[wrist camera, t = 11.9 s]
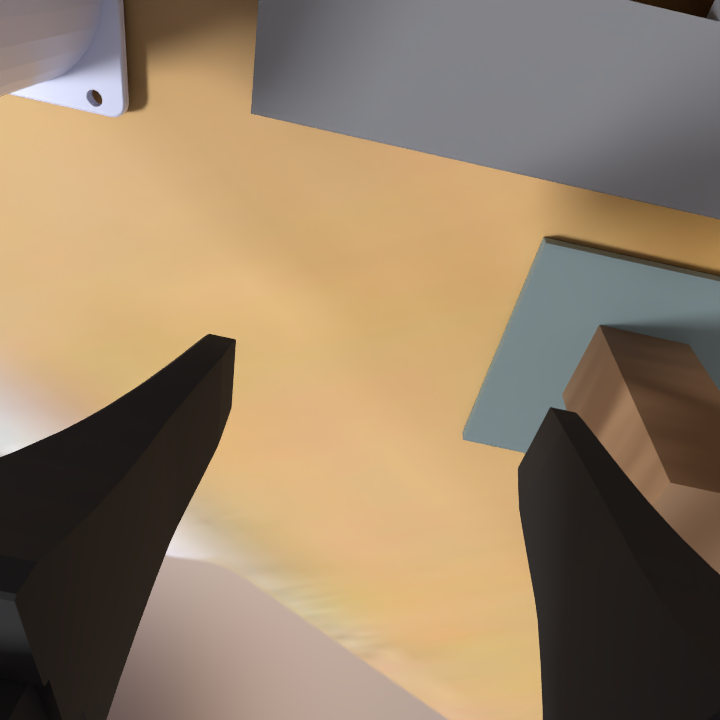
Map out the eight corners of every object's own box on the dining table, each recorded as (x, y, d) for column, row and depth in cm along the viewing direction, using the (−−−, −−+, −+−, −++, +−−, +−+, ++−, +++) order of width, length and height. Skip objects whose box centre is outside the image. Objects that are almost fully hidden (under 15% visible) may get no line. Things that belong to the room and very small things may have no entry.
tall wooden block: (562, 394, 24) (610, 558, 17) (599, 324, 22) (670, 482, 15) (643, 412, 24) (722, 582, 17) (688, 344, 22) (797, 509, 15)
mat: (462, 432, 26) (463, 439, 26) (543, 236, 20) (545, 242, 20) (668, 476, 26) (671, 484, 26) (807, 296, 21) (815, 302, 20)
